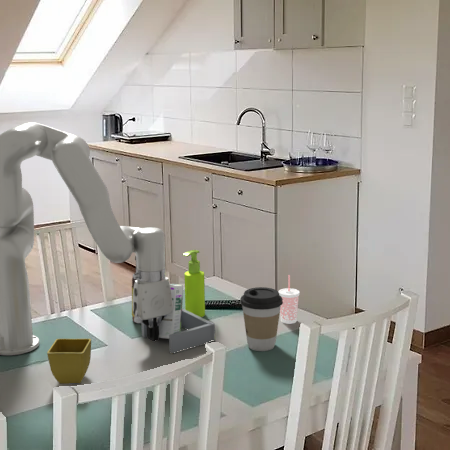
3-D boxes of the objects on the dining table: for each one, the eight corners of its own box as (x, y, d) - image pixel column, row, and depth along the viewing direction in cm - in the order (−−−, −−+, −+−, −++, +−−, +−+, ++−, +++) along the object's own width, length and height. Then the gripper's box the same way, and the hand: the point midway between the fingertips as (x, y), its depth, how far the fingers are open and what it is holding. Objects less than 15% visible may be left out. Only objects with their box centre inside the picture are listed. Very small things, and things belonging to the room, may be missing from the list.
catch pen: (172, 354, 190) (171, 336, 189) (142, 336, 202) (141, 319, 201) (214, 341, 199) (214, 323, 197) (183, 324, 210) (183, 308, 209)
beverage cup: (288, 326, 208) (288, 279, 205) (273, 320, 213) (274, 274, 210) (303, 321, 212) (304, 275, 209) (289, 315, 217) (289, 270, 213)
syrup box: (172, 339, 196) (177, 285, 196) (152, 336, 198) (156, 283, 198) (180, 337, 201) (184, 284, 202) (160, 334, 203) (164, 282, 204)
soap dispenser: (178, 316, 217) (177, 251, 212) (194, 310, 222) (193, 246, 217) (193, 320, 213) (191, 255, 209) (209, 314, 218) (208, 250, 214)
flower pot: (48, 387, 172) (46, 352, 170) (58, 371, 181) (56, 337, 179) (85, 388, 172) (83, 352, 170) (93, 372, 180) (91, 338, 178)
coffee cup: (240, 337, 201) (240, 285, 197) (282, 337, 200) (282, 285, 197) (239, 354, 190) (239, 299, 186) (283, 354, 189) (283, 300, 186)
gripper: (133, 283, 185) (135, 350, 189) (182, 272, 193) (183, 337, 198) (119, 276, 191) (121, 341, 195) (167, 266, 199) (169, 329, 204)
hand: (153, 339), depth 196 cm, fingers closed
